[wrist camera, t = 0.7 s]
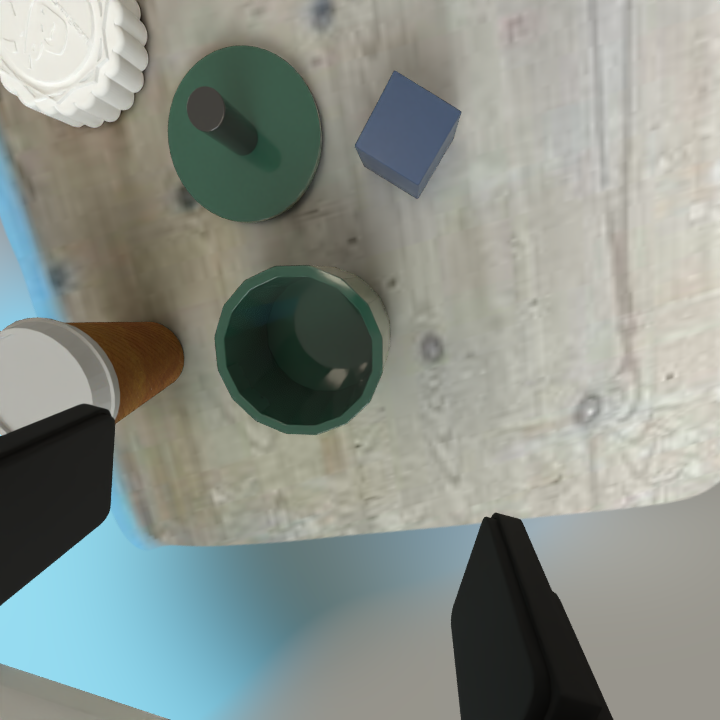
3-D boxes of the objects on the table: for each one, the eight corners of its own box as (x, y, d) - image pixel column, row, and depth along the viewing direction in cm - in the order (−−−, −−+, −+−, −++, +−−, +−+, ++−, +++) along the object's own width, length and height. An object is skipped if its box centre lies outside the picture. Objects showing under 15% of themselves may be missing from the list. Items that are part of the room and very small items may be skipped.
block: (363, 165, 30) (354, 146, 26) (397, 102, 29) (394, 69, 24) (417, 199, 30) (418, 185, 26) (453, 137, 29) (461, 111, 24)
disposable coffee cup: (182, 419, 38) (79, 485, 26) (95, 374, 38) (-45, 421, 26) (215, 332, 35) (117, 363, 24) (122, 286, 35) (-20, 293, 24)
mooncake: (-12, 45, 32) (-63, 18, 29) (71, -83, 29) (25, -131, 26) (90, 161, 33) (53, 149, 30) (180, 48, 30) (150, 19, 27)
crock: (321, 237, 32) (289, 226, 24) (418, 334, 33) (419, 355, 25) (237, 333, 35) (183, 353, 27) (328, 420, 36) (302, 465, 27)
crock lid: (238, 14, 29) (189, -58, 23) (356, 135, 30) (340, 97, 24) (148, 149, 32) (82, 118, 26) (256, 255, 33) (219, 251, 27)
